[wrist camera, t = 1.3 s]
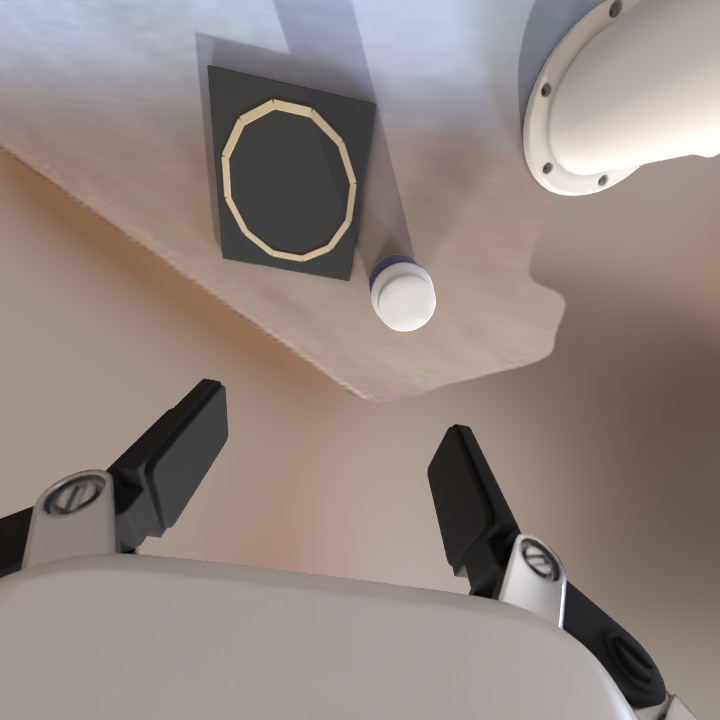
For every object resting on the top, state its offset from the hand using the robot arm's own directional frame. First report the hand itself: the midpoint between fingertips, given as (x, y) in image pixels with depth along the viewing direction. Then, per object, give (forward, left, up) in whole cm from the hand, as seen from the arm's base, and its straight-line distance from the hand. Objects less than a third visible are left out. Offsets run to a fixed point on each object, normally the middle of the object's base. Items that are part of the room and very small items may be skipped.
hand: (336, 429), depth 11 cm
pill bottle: (-4, -2, -22) cm, 23 cm away
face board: (+8, -9, -22) cm, 25 cm away
